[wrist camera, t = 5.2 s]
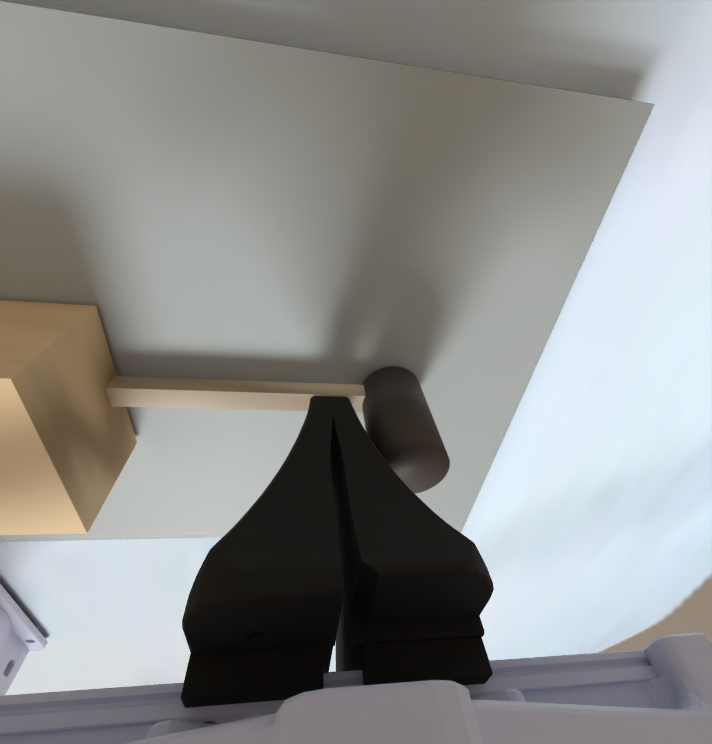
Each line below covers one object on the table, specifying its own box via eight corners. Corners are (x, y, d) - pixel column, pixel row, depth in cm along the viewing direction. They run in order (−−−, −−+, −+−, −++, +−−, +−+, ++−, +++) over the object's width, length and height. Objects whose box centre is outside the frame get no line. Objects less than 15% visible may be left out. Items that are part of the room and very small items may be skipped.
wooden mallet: (405, 445, 17) (428, 526, 13) (-31, 440, 14) (-135, 537, 11) (436, 325, 13) (476, 393, 10) (-126, 292, 11) (-317, 368, 8)
